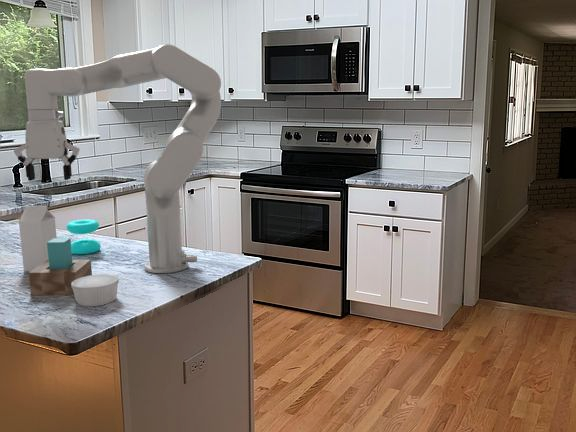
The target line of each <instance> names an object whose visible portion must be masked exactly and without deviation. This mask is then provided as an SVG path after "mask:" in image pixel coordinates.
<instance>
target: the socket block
mask: <svg viewBox="0 0 576 432" xmlns="http://www.w3.org/2000/svg"><path fill="white" fill-rule="evenodd" d="M72 262H73V265H72V266H71V267H70V268H69V269H49V260H47V261H45V262H44V263H42V264H41V265H39V266H38V267H36V268H35V269H33V270H32V271H30V272H29V271H28V279H29V281H28V282H29V290H30V296H70V295H71V296H75V295H74V292H73V289H72V287H71V283H72V282H73V281H74V280H76V279H79V278H82V277H85V276H90V275H93V273H92V270H93V269H92V260H91V259H72Z"/></svg>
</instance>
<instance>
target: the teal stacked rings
mask: <svg viewBox="0 0 576 432" xmlns="http://www.w3.org/2000/svg"><path fill="white" fill-rule="evenodd" d="M99 226H100V225H99V222H98V221H97V220H95V219H88V218H86V219H77V220H72V221H69V222H68V223H67V225H66V230H67V231H68V232H69V233H70V234H74V235H87V234H92V233H94V232H96V231H97V230H98V229H99ZM100 249H101V244H100V242H99V241H98V240H96V239H94V238H93V239H92V238H83V239H77V240H75V241H71V250H72V255H89V254H94V253H97V252H98V251H100Z"/></svg>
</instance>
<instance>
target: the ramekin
mask: <svg viewBox="0 0 576 432" xmlns="http://www.w3.org/2000/svg"><path fill="white" fill-rule="evenodd" d="M119 282H120V281H119V278H118V276H117V275H114V274H105V273H103V274H92V275H90V276H85V277H82V278H79V279H76V280H74V281H73V282H72V283H71V287H72V289H73V292H74V295H73V296H74V298H75V302H76V303H77V304H78V305H80V306H83V307H99V305H100V306H105V305H108V304H110V302H111V303H112V302H114V301H115V300H116V298H117V296H118V288H119V287H118V285H119ZM104 304H105V305H104Z"/></svg>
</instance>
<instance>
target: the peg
mask: <svg viewBox="0 0 576 432" xmlns="http://www.w3.org/2000/svg"><path fill="white" fill-rule="evenodd" d="M71 239H72V238H71V237H65V238H64V237H63V238H61V237H59V238H58V237H57V238H53V239H52V240H50V241H48V242H47V249H48V259H49V269H69V268H70V267H71V266H72V265H73V262H72V260H73V253H72V250H71V243H72V240H71Z"/></svg>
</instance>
